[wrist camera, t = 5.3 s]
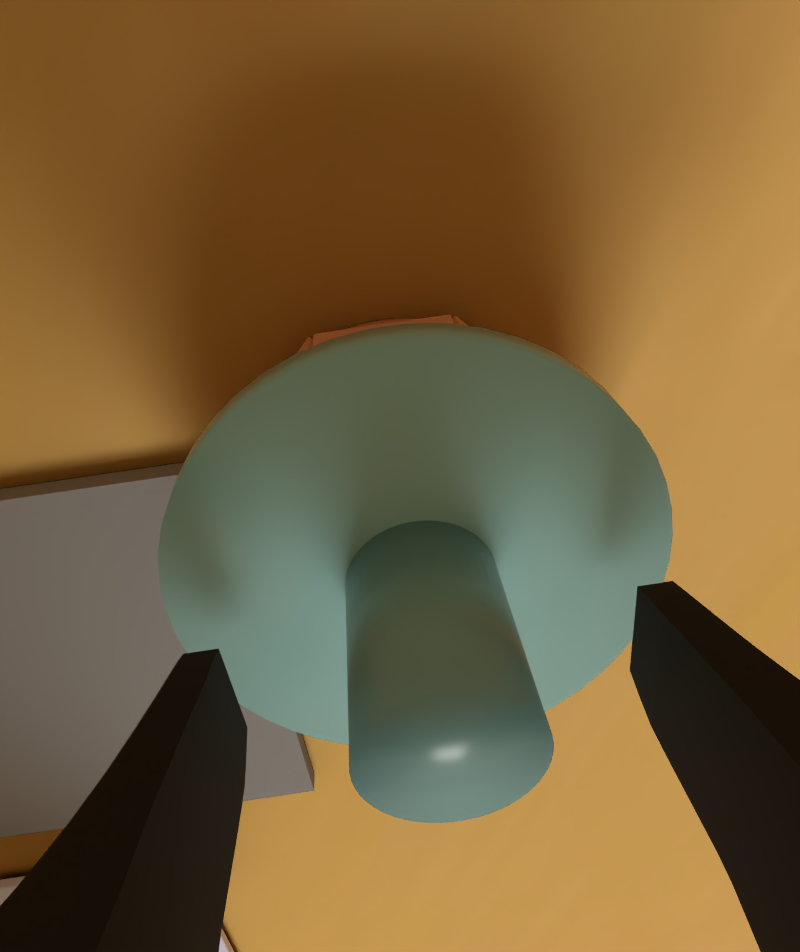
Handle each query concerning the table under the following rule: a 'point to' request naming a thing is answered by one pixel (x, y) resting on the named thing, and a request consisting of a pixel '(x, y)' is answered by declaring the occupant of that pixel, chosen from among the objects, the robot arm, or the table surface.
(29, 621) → the mat
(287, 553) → the lid
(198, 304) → the table surface
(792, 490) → the table surface
